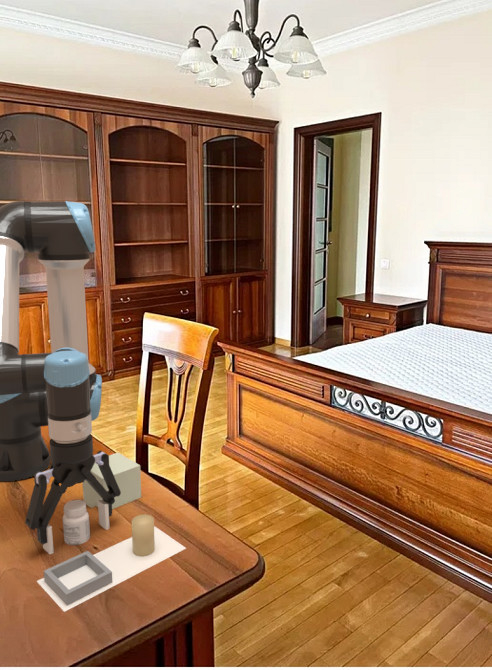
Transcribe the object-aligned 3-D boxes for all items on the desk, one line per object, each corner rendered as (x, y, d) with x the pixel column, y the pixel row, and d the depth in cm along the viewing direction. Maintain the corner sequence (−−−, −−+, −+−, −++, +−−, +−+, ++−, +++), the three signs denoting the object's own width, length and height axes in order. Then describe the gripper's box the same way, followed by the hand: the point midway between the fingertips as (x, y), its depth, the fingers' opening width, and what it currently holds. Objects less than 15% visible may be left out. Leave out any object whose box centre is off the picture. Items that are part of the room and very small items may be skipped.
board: (37, 588, 91) (33, 549, 90) (155, 533, 108) (154, 498, 106) (64, 620, 84) (61, 577, 83) (186, 555, 101) (185, 518, 99)
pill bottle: (81, 534, 107) (78, 495, 105) (95, 543, 104) (93, 504, 102) (59, 545, 104) (56, 505, 102) (73, 555, 101) (71, 514, 99)
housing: (83, 502, 119) (81, 464, 117) (119, 488, 125) (118, 452, 123) (104, 518, 113) (102, 478, 111) (141, 503, 119) (140, 465, 117)
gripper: (15, 461, 89) (25, 580, 93) (136, 425, 104) (140, 528, 109) (-3, 447, 94) (8, 561, 98) (115, 415, 110) (120, 514, 114)
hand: (77, 544), depth 104 cm, fingers open, 11 cm apart
